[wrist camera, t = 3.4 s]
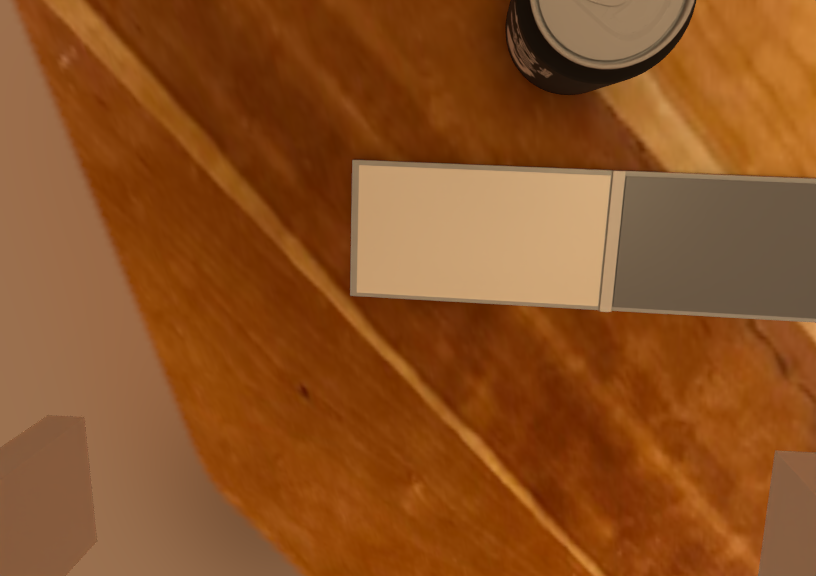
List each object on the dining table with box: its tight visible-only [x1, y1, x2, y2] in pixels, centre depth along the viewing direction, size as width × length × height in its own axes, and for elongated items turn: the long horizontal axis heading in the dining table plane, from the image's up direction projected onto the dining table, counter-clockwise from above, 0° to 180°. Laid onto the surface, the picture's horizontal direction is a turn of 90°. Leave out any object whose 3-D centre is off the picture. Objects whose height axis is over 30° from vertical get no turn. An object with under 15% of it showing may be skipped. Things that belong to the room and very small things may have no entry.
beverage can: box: [506, 0, 696, 95], centre depth 30 cm, size 7×7×12 cm
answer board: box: [350, 160, 816, 322], centre depth 38 cm, size 8×28×1 cm, turn 88°
